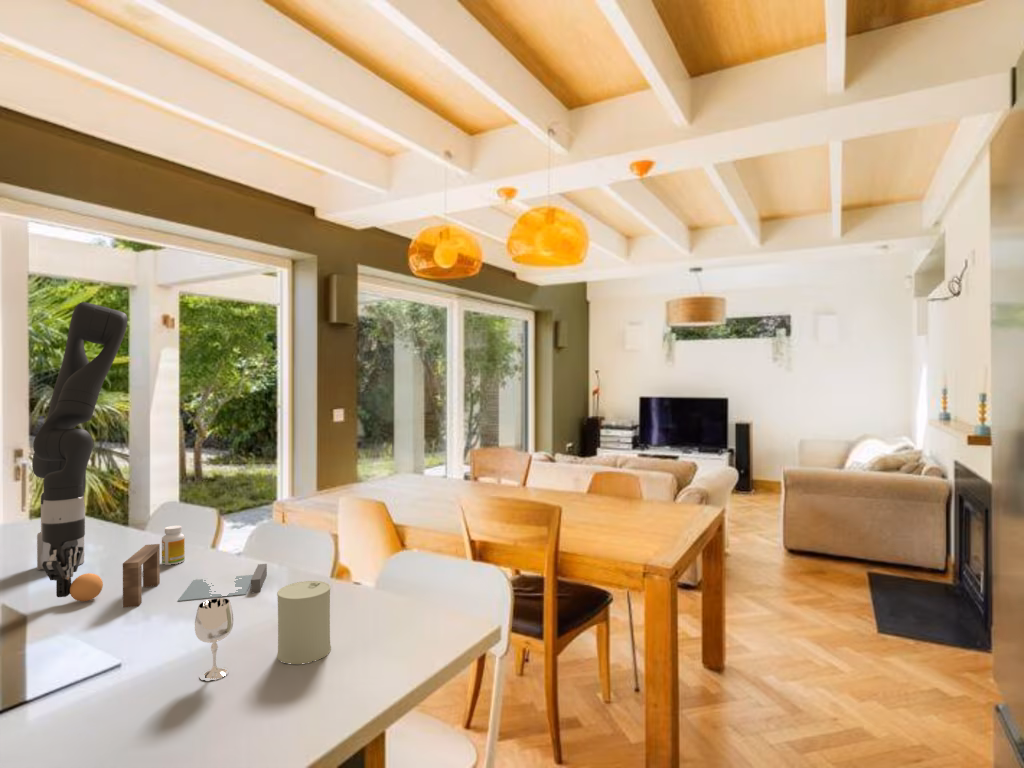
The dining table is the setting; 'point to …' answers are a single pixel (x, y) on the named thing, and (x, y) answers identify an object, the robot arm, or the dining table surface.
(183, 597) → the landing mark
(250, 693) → the dining table surface
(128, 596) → the bridge
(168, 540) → the supplement bottle
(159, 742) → the dining table surface
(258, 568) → the stopper
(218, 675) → the wineglass
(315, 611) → the can
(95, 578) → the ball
